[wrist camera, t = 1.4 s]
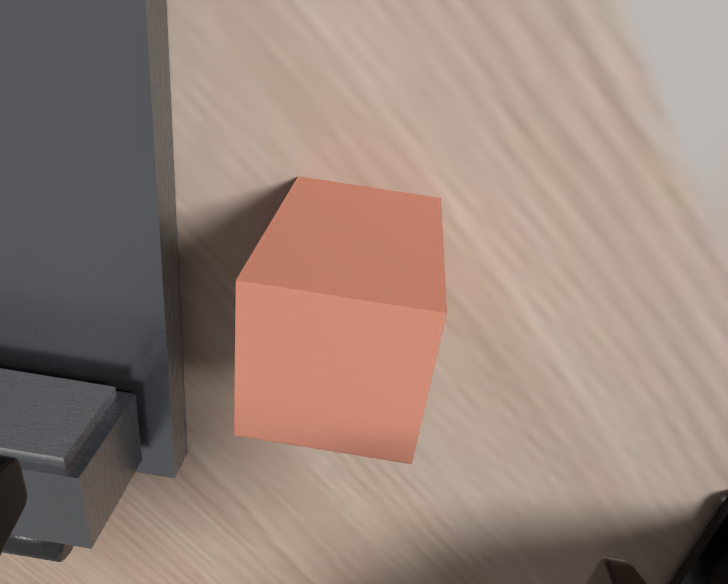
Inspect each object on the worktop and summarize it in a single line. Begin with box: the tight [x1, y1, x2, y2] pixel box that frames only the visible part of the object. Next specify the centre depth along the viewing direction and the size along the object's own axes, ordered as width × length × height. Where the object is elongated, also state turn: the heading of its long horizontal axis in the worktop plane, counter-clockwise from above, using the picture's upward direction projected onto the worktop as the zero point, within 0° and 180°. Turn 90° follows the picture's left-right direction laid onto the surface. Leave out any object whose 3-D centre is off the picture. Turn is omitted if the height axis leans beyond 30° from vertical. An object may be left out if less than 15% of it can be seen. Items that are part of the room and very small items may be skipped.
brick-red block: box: [234, 177, 447, 464], centre depth 14 cm, size 4×4×6 cm
